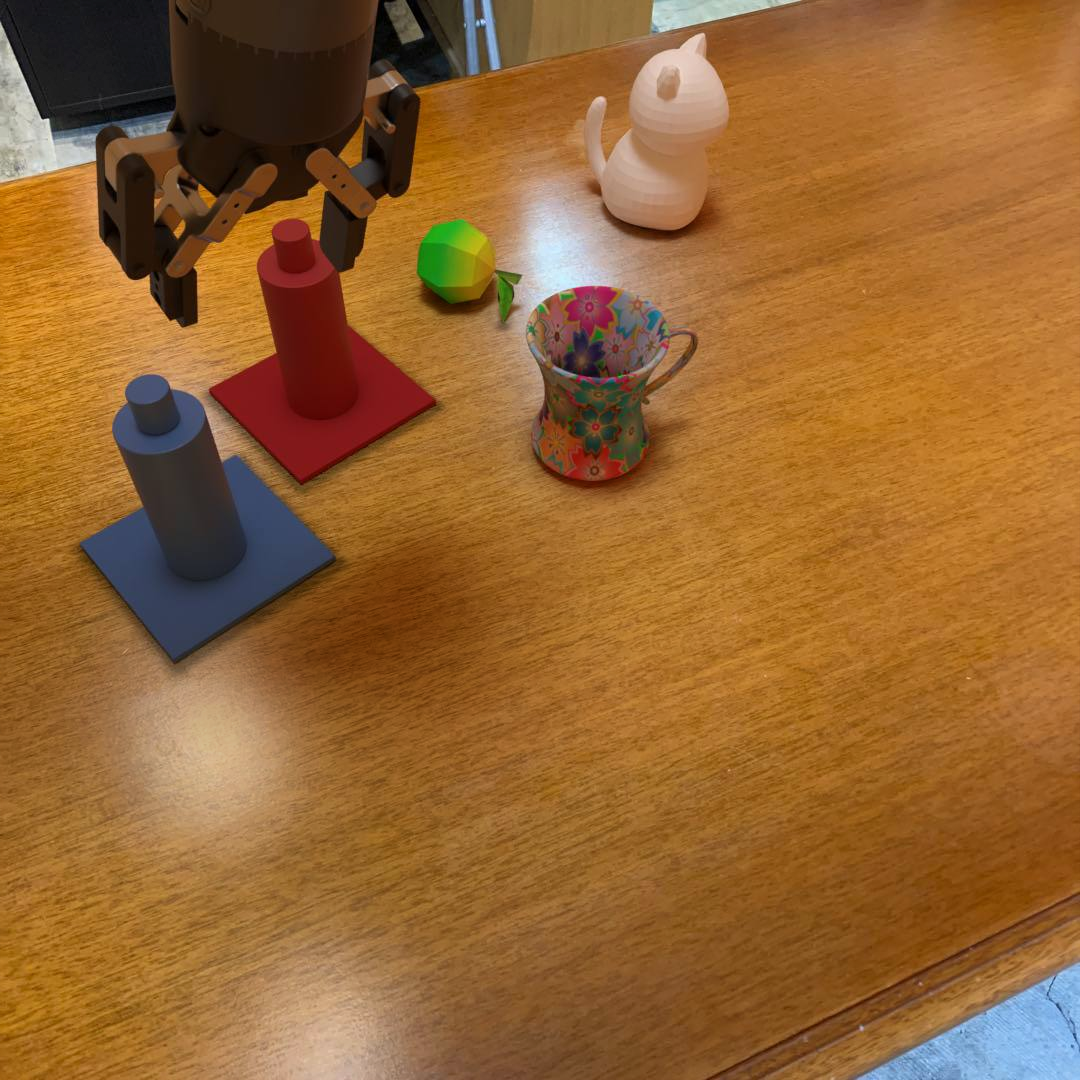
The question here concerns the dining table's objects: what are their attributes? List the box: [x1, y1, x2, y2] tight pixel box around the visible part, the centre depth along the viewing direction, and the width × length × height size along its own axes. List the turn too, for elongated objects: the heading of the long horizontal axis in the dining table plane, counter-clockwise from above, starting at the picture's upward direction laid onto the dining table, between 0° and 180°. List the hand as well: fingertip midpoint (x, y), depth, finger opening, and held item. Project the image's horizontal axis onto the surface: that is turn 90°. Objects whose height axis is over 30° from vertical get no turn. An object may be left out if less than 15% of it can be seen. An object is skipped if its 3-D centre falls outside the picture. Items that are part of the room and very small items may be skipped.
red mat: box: [208, 325, 437, 485], centre depth 80 cm, size 12×12×1 cm
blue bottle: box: [111, 373, 247, 581], centre depth 65 cm, size 5×5×14 cm
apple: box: [416, 218, 523, 324], centre depth 86 cm, size 7×6×9 cm
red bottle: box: [256, 218, 358, 420], centre depth 74 cm, size 5×5×14 cm
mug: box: [525, 285, 699, 482], centre depth 74 cm, size 12×9×11 cm
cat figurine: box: [583, 32, 730, 231], centre depth 90 cm, size 9×12×15 cm
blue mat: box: [79, 454, 337, 664], centre depth 71 cm, size 12×12×1 cm
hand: (260, 285), depth 53 cm, fingers open, 8 cm apart
